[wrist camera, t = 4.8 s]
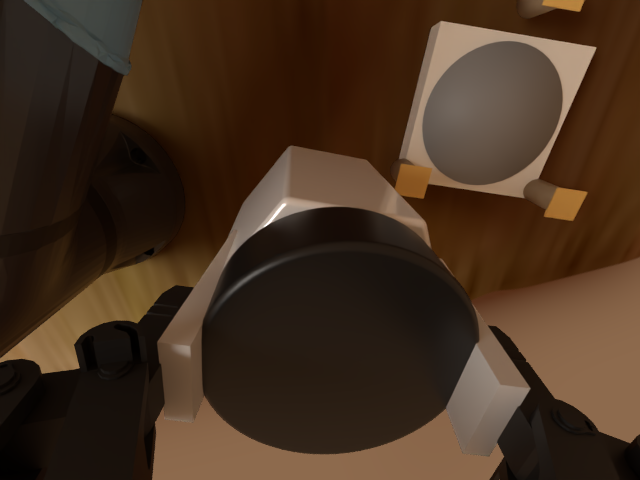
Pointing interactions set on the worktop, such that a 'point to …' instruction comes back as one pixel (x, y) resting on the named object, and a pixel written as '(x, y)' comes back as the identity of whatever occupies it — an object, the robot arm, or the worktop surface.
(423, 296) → the jar
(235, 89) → the worktop surface
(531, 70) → the cradle board
